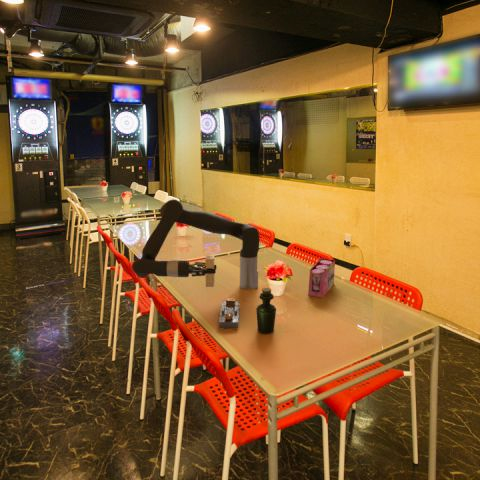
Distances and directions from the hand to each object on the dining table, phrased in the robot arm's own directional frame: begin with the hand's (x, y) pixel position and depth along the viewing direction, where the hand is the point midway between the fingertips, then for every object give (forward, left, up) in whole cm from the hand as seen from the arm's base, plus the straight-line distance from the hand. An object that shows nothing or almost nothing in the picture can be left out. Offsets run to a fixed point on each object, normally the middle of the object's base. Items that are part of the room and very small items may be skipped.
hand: (215, 269), depth 187 cm
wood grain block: (+3, 0, -7) cm, 8 cm away
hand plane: (-5, +9, -20) cm, 22 cm away
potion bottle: (-18, +24, -20) cm, 36 cm away
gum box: (-57, -19, -20) cm, 63 cm away
